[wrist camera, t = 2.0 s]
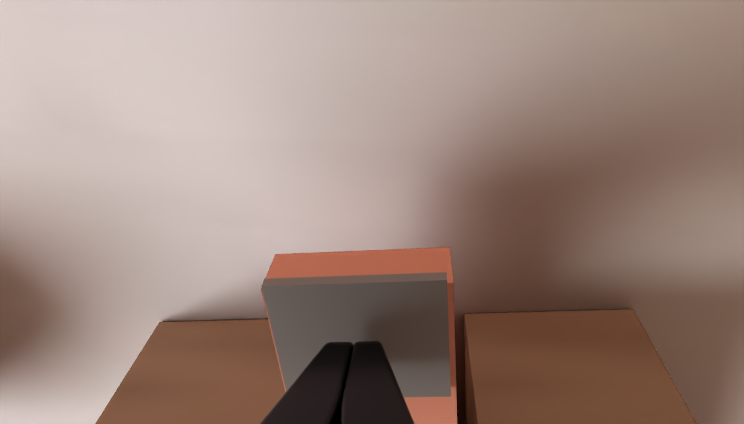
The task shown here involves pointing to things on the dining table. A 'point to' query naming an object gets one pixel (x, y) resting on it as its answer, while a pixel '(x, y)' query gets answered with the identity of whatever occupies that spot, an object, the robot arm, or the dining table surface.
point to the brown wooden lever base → (482, 372)
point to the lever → (371, 317)
